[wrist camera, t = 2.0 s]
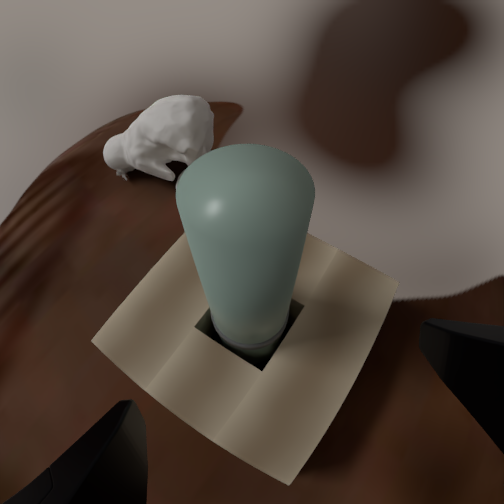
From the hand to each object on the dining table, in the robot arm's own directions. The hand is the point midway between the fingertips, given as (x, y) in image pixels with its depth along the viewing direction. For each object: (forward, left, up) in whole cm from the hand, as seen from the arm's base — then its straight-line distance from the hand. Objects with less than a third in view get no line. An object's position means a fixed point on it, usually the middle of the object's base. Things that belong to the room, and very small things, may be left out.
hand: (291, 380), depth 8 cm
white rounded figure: (+21, -12, -12) cm, 27 cm away
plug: (+4, -3, -12) cm, 13 cm away
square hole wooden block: (+4, -3, -12) cm, 13 cm away
